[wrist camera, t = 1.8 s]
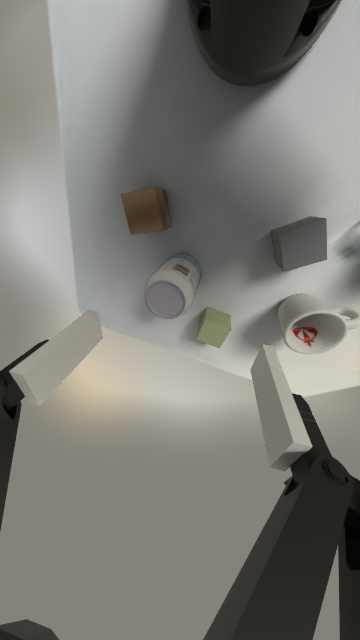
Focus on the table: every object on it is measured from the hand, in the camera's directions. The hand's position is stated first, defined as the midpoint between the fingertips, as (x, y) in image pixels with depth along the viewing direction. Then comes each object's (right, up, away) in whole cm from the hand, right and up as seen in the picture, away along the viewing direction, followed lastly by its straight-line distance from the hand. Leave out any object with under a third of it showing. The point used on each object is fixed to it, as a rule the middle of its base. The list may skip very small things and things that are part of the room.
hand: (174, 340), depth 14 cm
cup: (+23, +4, +18) cm, 29 cm away
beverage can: (+1, +11, +19) cm, 22 cm away
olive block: (+8, +2, +23) cm, 24 cm away
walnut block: (-4, +19, +14) cm, 24 cm away
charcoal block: (+17, +14, +13) cm, 26 cm away
